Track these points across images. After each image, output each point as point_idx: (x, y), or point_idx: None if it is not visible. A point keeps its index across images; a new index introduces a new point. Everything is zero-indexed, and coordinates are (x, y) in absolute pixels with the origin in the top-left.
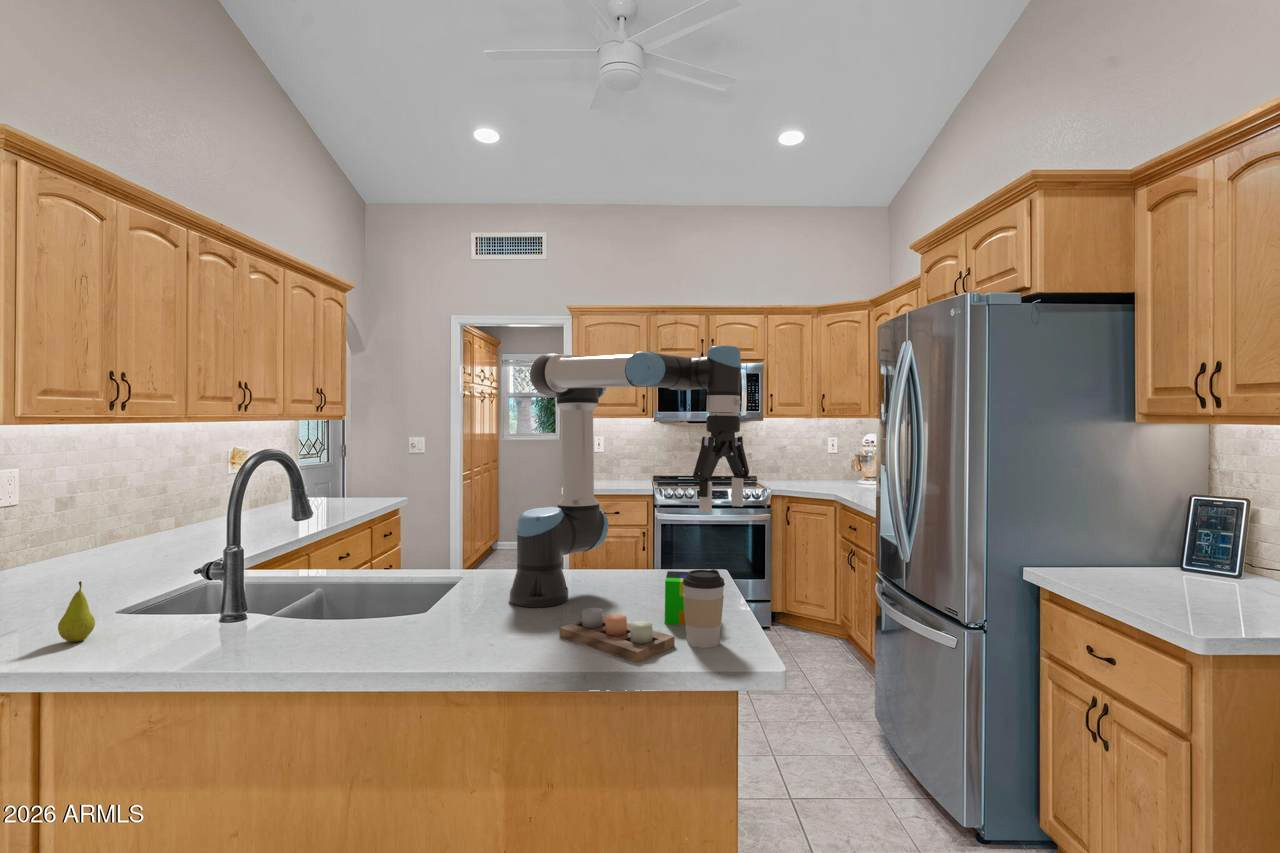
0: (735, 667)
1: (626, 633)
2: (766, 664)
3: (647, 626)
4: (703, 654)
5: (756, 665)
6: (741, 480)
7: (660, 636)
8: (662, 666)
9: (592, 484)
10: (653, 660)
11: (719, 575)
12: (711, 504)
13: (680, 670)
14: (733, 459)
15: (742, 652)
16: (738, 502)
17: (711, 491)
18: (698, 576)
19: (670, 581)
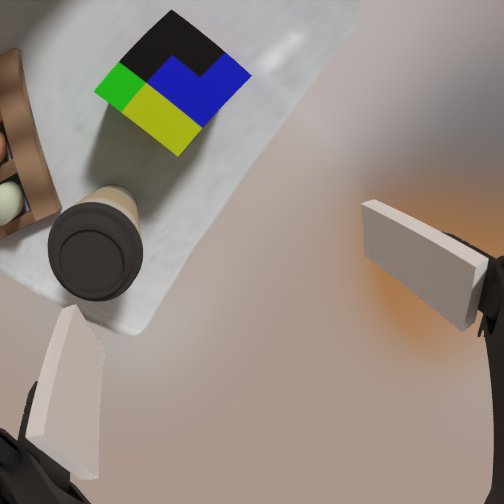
0: (100, 310)
1: (4, 157)
2: (142, 320)
3: (2, 221)
4: None
5: (128, 317)
6: (454, 323)
7: (38, 201)
8: (18, 265)
9: None
10: (14, 242)
11: (119, 286)
12: (100, 378)
13: (33, 286)
14: (501, 461)
15: (140, 275)
16: (375, 248)
17: (95, 433)
18: (64, 280)
19: (103, 98)
